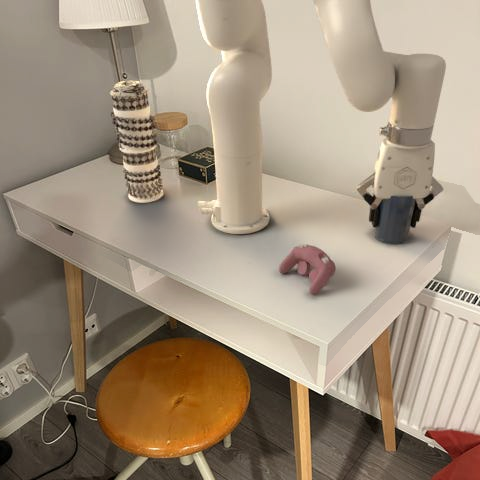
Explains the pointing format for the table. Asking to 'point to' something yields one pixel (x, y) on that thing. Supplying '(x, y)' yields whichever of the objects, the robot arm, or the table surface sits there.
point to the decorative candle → (136, 141)
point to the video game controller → (308, 256)
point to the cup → (394, 219)
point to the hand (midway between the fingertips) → (392, 223)
